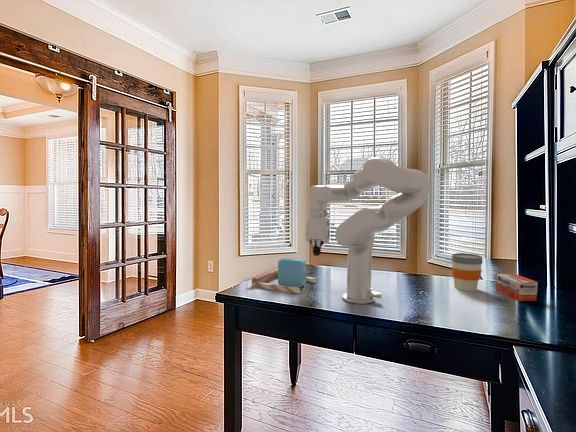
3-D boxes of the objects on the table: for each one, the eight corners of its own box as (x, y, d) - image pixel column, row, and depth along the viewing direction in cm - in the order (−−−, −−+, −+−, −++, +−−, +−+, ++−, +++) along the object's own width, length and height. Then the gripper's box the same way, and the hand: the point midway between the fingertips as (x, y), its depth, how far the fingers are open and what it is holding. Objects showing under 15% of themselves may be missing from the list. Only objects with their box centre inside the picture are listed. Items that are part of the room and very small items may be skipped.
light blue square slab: (305, 285, 165) (305, 259, 164) (302, 287, 161) (303, 261, 160) (281, 282, 169) (281, 257, 168) (277, 285, 165) (277, 259, 164)
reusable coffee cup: (449, 289, 160) (450, 256, 159) (451, 283, 171) (452, 252, 170) (481, 293, 154) (482, 259, 153) (481, 287, 165) (482, 254, 164)
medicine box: (495, 291, 159) (496, 273, 159) (513, 291, 159) (514, 273, 159) (517, 301, 144) (519, 282, 144) (537, 301, 144) (539, 282, 144)
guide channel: (316, 282, 171) (316, 273, 170) (298, 293, 152) (298, 284, 152) (273, 276, 181) (273, 268, 180) (251, 286, 162) (251, 277, 162)
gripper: (337, 214, 157) (335, 255, 159) (305, 212, 164) (304, 252, 165) (331, 215, 151) (330, 258, 152) (299, 213, 157) (297, 254, 159)
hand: (316, 255), depth 159 cm, fingers closed
